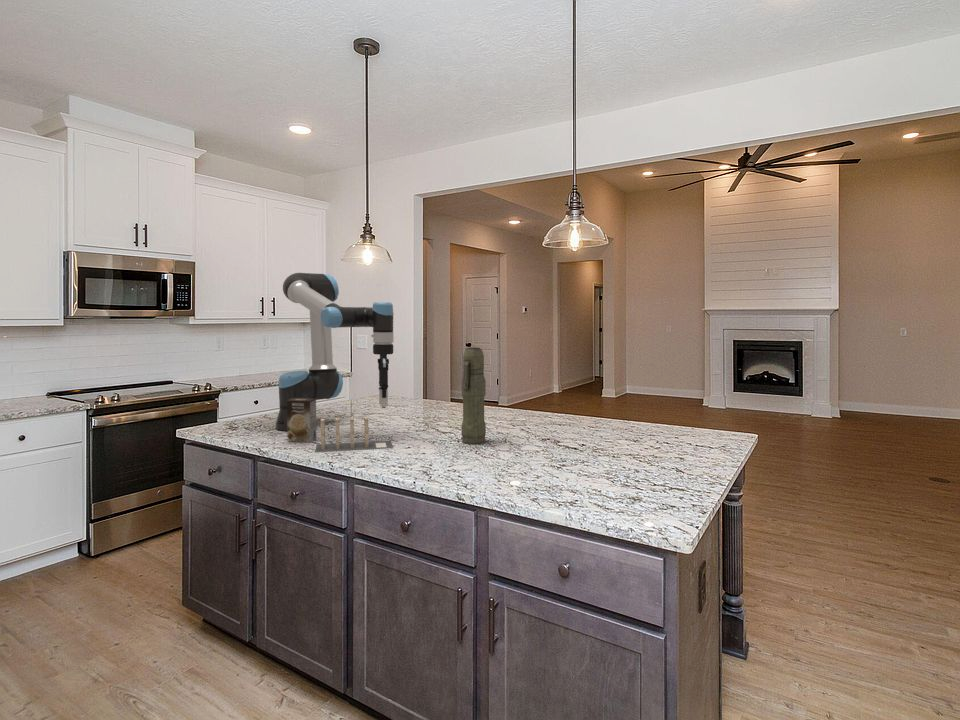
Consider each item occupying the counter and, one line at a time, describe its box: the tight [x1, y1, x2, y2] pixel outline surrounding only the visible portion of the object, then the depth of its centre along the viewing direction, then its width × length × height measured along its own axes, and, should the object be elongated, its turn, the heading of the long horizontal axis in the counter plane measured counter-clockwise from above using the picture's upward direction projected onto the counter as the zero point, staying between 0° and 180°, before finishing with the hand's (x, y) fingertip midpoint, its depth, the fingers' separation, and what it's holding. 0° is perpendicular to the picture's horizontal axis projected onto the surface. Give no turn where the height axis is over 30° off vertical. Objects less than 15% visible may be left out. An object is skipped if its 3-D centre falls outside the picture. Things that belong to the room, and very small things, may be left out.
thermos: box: [461, 346, 487, 445], centre depth 204 cm, size 9×12×35 cm
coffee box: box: [286, 398, 317, 444], centre depth 205 cm, size 9×6×16 cm
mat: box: [314, 440, 394, 453], centre depth 197 cm, size 12×26×1 cm, turn 104°
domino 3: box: [349, 416, 355, 448], centre depth 196 cm, size 5×1×10 cm, turn 14°
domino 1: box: [320, 418, 326, 450], centre depth 193 cm, size 5×1×10 cm, turn 14°
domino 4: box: [363, 416, 370, 448], centre depth 197 cm, size 5×1×10 cm, turn 14°
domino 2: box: [334, 417, 341, 449], centre depth 194 cm, size 5×1×10 cm, turn 14°
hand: (383, 404), depth 209 cm, fingers closed on domino 5, 5 cm apart
